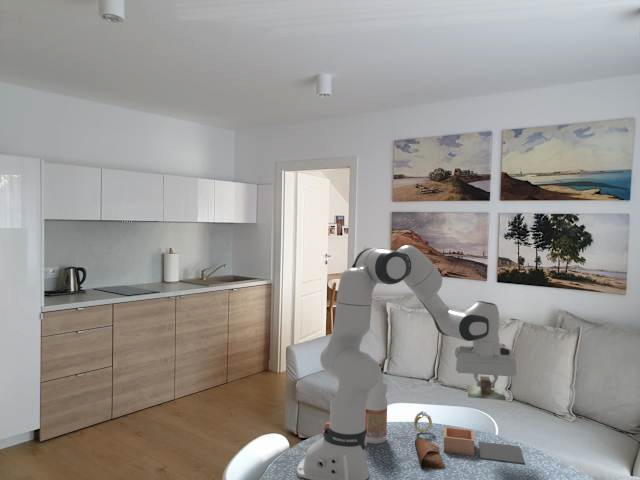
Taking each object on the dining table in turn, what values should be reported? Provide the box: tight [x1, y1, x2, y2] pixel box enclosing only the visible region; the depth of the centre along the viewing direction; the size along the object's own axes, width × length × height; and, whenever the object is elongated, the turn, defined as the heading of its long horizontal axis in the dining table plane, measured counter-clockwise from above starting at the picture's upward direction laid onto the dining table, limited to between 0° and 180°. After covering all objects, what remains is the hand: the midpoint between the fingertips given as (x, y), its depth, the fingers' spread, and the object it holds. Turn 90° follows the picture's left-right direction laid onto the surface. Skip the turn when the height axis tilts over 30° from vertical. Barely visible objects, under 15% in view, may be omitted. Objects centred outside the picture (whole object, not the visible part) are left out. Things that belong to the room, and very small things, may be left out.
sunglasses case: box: [414, 436, 446, 470], centre depth 168 cm, size 18×7×7 cm
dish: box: [443, 426, 475, 456], centre depth 176 cm, size 10×10×5 cm
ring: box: [413, 411, 433, 434], centre depth 189 cm, size 7×3×8 cm, turn 101°
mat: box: [477, 441, 526, 465], centre depth 172 cm, size 14×14×1 cm
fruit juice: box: [365, 360, 388, 445], centre depth 181 cm, size 9×9×28 cm
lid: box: [466, 375, 507, 401], centre depth 174 cm, size 12×12×5 cm
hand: (485, 386), depth 174 cm, fingers closed on lid, 3 cm apart
